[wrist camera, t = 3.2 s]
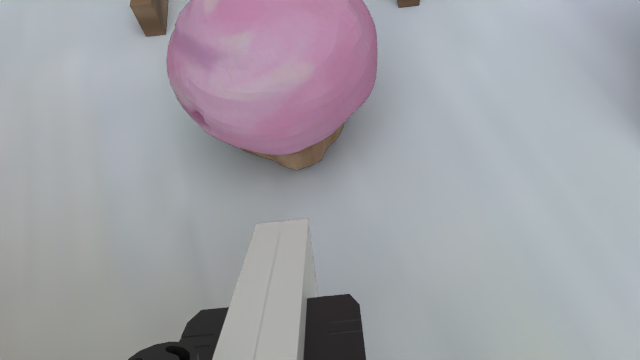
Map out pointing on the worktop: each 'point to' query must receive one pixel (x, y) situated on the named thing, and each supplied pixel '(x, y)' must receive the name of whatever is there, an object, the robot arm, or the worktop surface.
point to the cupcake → (273, 72)
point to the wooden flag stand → (153, 8)
